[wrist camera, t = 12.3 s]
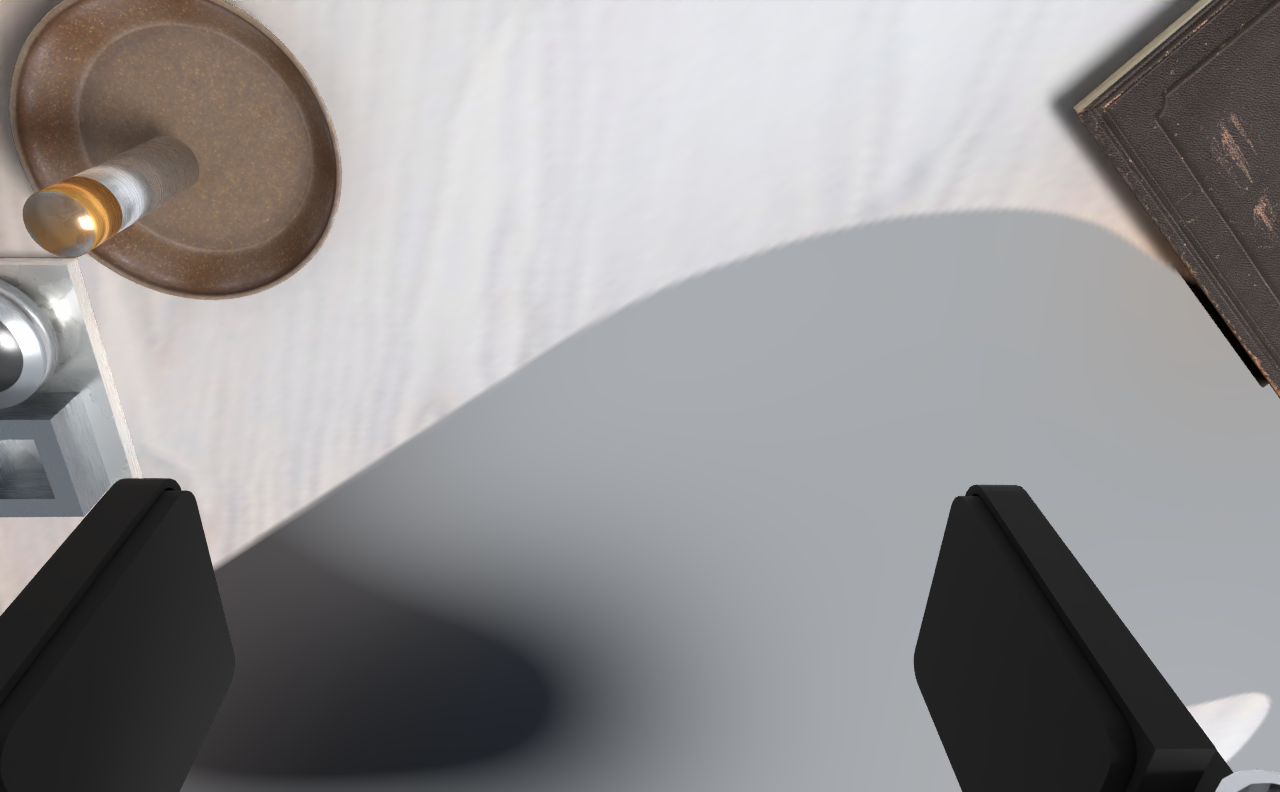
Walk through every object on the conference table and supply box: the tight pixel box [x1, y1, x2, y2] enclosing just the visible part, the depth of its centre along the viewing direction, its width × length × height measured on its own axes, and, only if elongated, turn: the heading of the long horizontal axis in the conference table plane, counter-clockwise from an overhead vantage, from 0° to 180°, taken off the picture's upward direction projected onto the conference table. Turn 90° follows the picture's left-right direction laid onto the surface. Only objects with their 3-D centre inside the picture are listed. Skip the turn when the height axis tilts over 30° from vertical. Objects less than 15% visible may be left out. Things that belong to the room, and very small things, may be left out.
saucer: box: [9, 0, 342, 300], centre depth 42 cm, size 15×15×3 cm
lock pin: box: [23, 136, 200, 258], centre depth 37 cm, size 3×3×9 cm
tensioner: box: [0, 258, 143, 517], centre depth 47 cm, size 14×9×4 cm, turn 179°
